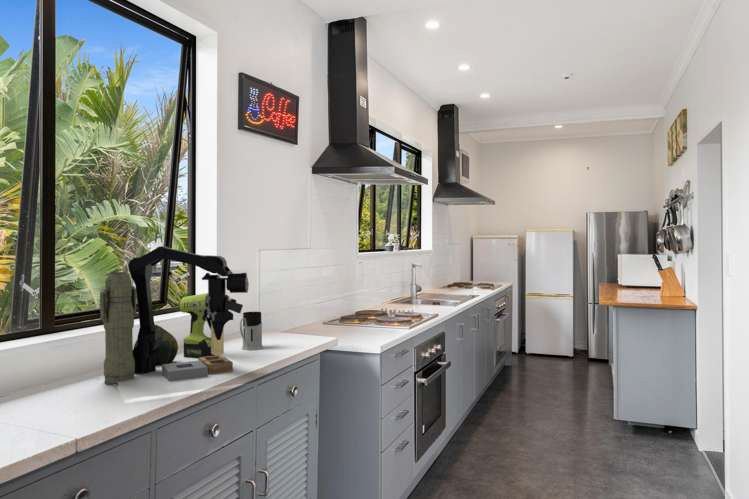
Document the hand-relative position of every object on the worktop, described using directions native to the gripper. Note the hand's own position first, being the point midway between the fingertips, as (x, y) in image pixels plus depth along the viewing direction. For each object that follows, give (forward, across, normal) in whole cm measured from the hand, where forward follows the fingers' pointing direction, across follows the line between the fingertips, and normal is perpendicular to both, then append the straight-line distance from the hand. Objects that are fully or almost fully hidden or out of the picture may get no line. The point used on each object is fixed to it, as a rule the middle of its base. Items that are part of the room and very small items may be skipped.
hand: (217, 338), depth 186 cm
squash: (+12, +25, +16) cm, 32 cm away
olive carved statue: (+12, +5, +30) cm, 33 cm away
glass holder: (+12, +35, -22) cm, 43 cm away
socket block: (+12, -1, +11) cm, 16 cm away
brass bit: (+5, 0, 0) cm, 5 cm away
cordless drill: (+12, +29, -4) cm, 32 cm away
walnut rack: (+12, +3, 0) cm, 12 cm away
